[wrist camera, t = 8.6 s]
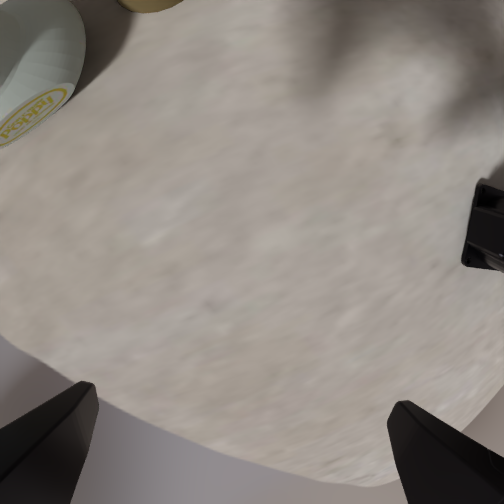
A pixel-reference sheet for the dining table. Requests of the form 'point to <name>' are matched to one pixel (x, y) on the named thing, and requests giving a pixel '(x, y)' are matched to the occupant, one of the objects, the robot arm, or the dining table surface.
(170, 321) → the dining table surface
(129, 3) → the cork
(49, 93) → the air freshener
